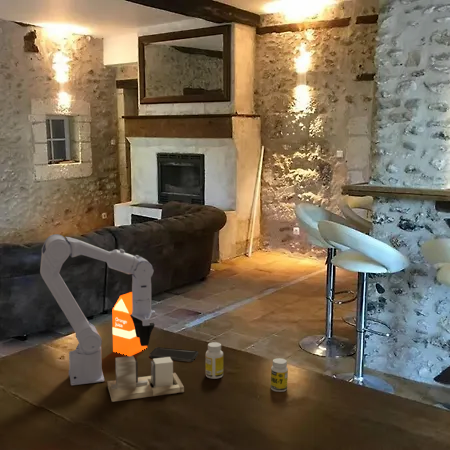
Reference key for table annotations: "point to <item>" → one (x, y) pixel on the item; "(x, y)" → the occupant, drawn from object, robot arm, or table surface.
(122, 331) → the orange juice
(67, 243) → the robot arm
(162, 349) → the phone
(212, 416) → the table surface
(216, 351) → the supplement bottle
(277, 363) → the supplement bottle
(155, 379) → the off-white rectangular block
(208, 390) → the table surface
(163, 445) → the table surface
